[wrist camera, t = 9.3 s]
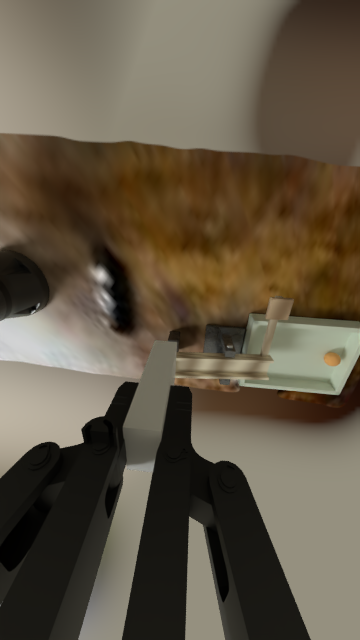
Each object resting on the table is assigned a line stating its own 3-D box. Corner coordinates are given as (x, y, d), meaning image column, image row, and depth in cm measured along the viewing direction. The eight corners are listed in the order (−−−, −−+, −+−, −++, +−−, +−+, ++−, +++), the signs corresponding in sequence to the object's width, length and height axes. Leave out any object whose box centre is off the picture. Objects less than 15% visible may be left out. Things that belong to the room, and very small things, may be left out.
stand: (169, 357, 53) (164, 382, 45) (170, 321, 49) (164, 341, 40) (237, 363, 52) (244, 389, 44) (244, 327, 48) (254, 349, 40)
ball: (338, 364, 48) (322, 359, 50) (343, 353, 47) (327, 348, 48) (337, 371, 46) (320, 365, 47) (342, 359, 44) (325, 353, 46)
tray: (236, 375, 54) (239, 385, 50) (249, 313, 46) (254, 320, 43) (329, 383, 53) (339, 395, 49) (358, 321, 45) (372, 329, 42)
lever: (165, 369, 45) (165, 379, 42) (167, 290, 37) (167, 296, 34) (265, 371, 46) (271, 382, 43) (287, 295, 38) (297, 301, 35)
